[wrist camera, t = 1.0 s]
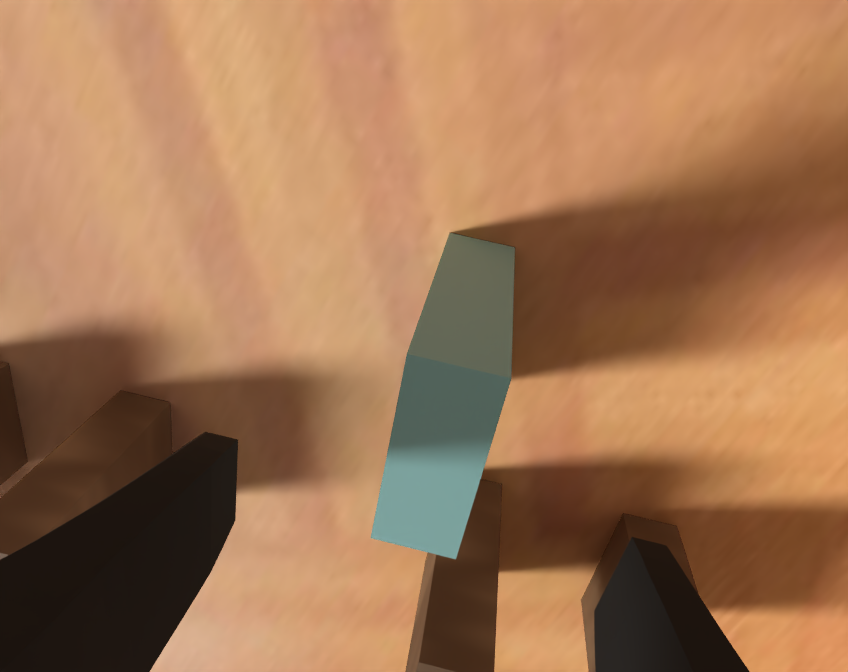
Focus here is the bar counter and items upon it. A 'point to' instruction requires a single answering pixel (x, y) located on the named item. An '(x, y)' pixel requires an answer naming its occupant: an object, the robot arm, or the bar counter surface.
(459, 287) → the domino
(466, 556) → the domino
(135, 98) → the bar counter surface
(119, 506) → the robot arm
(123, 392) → the domino
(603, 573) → the domino
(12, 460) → the domino
